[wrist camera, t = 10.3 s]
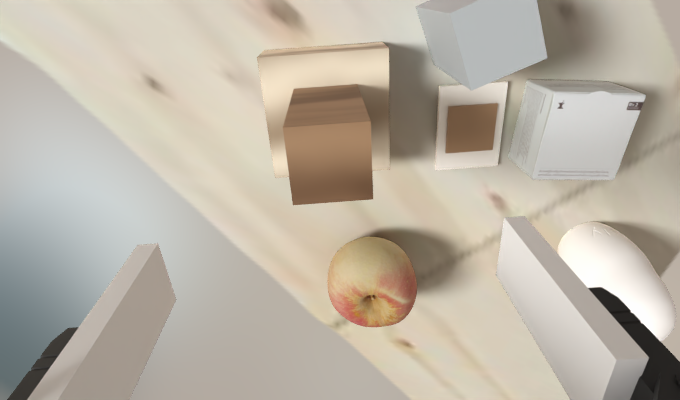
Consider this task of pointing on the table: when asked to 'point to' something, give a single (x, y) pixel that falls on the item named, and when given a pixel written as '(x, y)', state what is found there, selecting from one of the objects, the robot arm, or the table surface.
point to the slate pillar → (482, 37)
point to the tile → (469, 125)
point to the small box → (574, 129)
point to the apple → (372, 282)
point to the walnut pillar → (328, 145)
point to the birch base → (327, 70)
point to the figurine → (619, 273)
